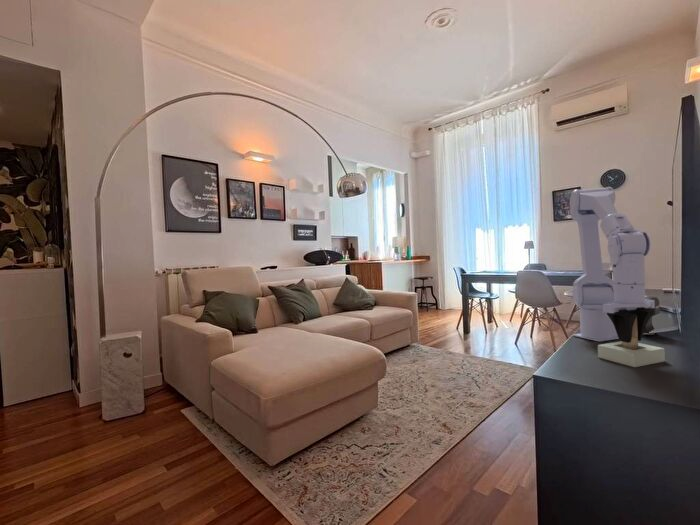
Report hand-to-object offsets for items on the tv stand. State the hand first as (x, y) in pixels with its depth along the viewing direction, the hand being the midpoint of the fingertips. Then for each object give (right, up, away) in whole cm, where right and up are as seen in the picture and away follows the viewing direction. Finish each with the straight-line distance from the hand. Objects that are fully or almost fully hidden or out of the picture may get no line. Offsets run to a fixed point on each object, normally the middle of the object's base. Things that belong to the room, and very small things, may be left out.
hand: (630, 340), depth 79 cm
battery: (+24, -3, +21) cm, 32 cm away
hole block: (0, -4, 0) cm, 4 cm away
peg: (0, -3, 0) cm, 3 cm away
